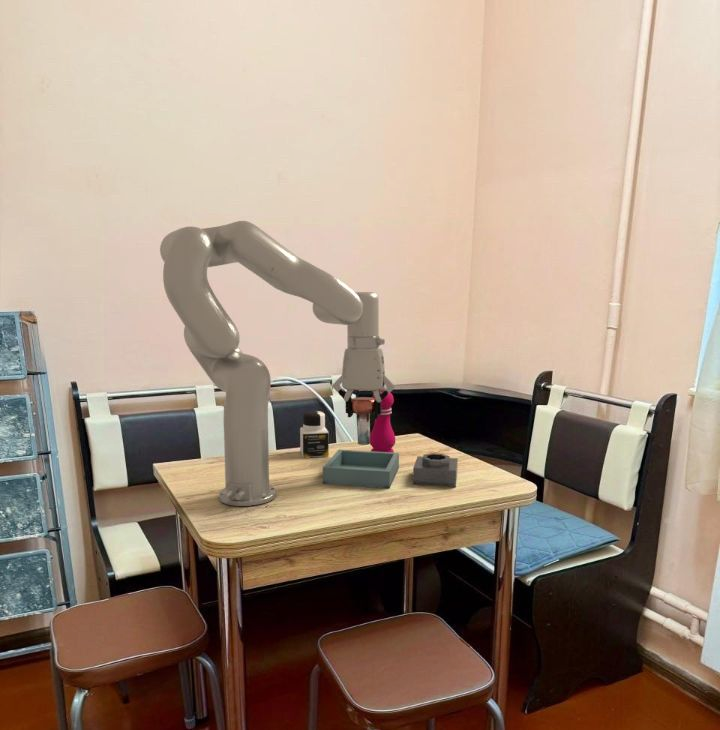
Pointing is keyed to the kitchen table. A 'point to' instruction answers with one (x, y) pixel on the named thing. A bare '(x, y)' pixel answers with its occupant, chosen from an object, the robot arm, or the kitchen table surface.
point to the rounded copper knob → (363, 417)
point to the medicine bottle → (314, 435)
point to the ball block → (435, 470)
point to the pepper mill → (383, 427)
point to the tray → (361, 468)
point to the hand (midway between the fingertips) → (363, 416)
